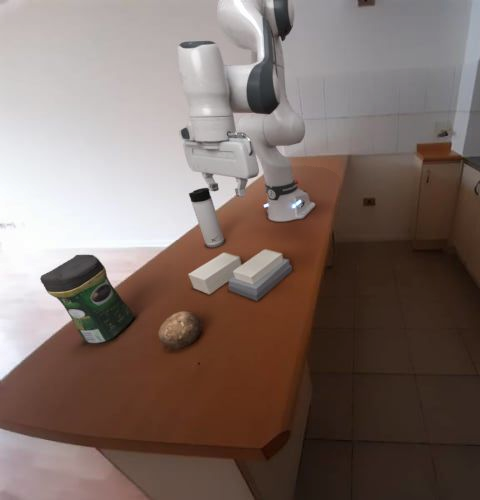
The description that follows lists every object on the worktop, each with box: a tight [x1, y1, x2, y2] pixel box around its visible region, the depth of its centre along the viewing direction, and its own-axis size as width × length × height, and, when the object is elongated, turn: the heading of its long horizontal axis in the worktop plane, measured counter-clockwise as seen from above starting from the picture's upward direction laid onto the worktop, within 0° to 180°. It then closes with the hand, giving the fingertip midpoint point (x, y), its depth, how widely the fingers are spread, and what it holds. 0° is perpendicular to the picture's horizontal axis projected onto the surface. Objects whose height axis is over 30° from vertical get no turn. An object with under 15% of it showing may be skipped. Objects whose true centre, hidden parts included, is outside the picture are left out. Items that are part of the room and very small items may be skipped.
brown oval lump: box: [157, 310, 202, 350], centre depth 60 cm, size 8×8×6 cm
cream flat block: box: [233, 248, 284, 284], centre depth 76 cm, size 12×6×2 cm, turn 151°
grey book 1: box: [227, 257, 291, 294], centre depth 76 cm, size 14×10×2 cm, turn 154°
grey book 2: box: [227, 264, 293, 302], centre depth 77 cm, size 15×10×2 cm, turn 151°
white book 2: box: [190, 263, 243, 295], centre depth 79 cm, size 12×6×2 cm, turn 151°
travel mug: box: [188, 187, 225, 248], centre depth 94 cm, size 6×7×20 cm
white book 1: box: [187, 251, 242, 287], centre depth 78 cm, size 12×6×2 cm, turn 151°
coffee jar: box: [40, 254, 134, 344], centre depth 60 cm, size 10×8×19 cm
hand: (227, 193), depth 67 cm, fingers open, 8 cm apart
